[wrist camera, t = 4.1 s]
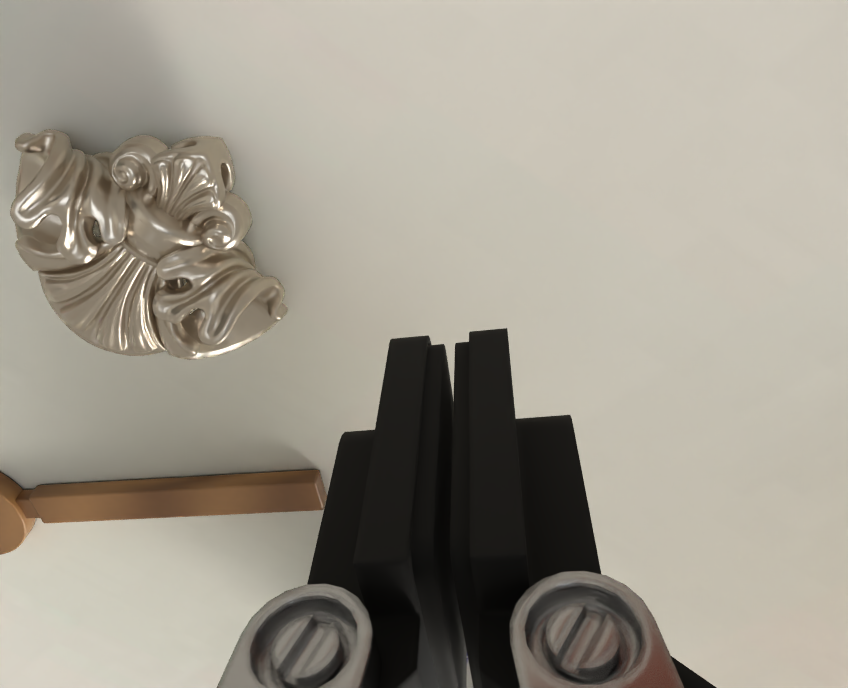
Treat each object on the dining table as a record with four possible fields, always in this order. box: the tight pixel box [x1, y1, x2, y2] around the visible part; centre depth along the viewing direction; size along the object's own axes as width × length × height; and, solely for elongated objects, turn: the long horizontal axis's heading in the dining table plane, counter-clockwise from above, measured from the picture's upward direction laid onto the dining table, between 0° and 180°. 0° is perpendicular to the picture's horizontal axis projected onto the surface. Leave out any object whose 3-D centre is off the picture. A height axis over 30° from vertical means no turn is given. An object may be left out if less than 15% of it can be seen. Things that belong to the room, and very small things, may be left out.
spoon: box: [0, 470, 327, 554], centre depth 26 cm, size 17×4×1 cm, turn 98°
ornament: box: [10, 129, 288, 359], centre depth 19 cm, size 8×7×4 cm
